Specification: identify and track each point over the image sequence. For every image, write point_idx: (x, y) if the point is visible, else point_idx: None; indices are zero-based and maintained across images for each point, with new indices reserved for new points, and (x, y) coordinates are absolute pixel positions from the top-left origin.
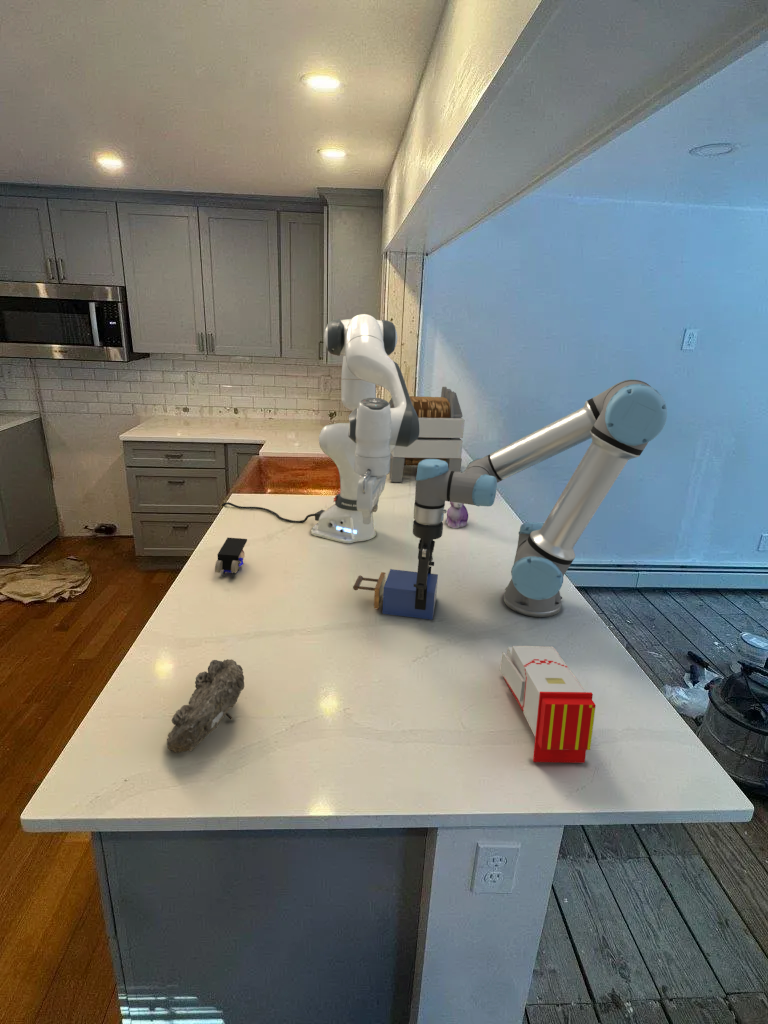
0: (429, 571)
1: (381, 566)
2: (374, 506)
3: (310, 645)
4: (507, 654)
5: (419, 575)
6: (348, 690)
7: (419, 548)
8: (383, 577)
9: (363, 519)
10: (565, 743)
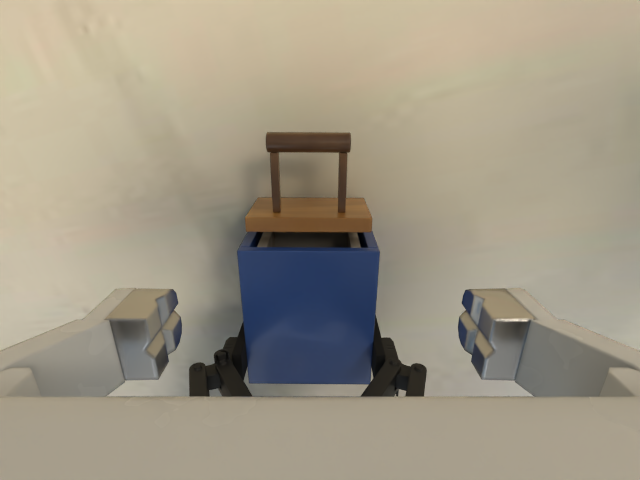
0: (372, 368)
1: (559, 166)
2: (482, 355)
3: (22, 58)
4: None
5: None
6: None
7: None
8: (330, 231)
9: (98, 310)
10: None
